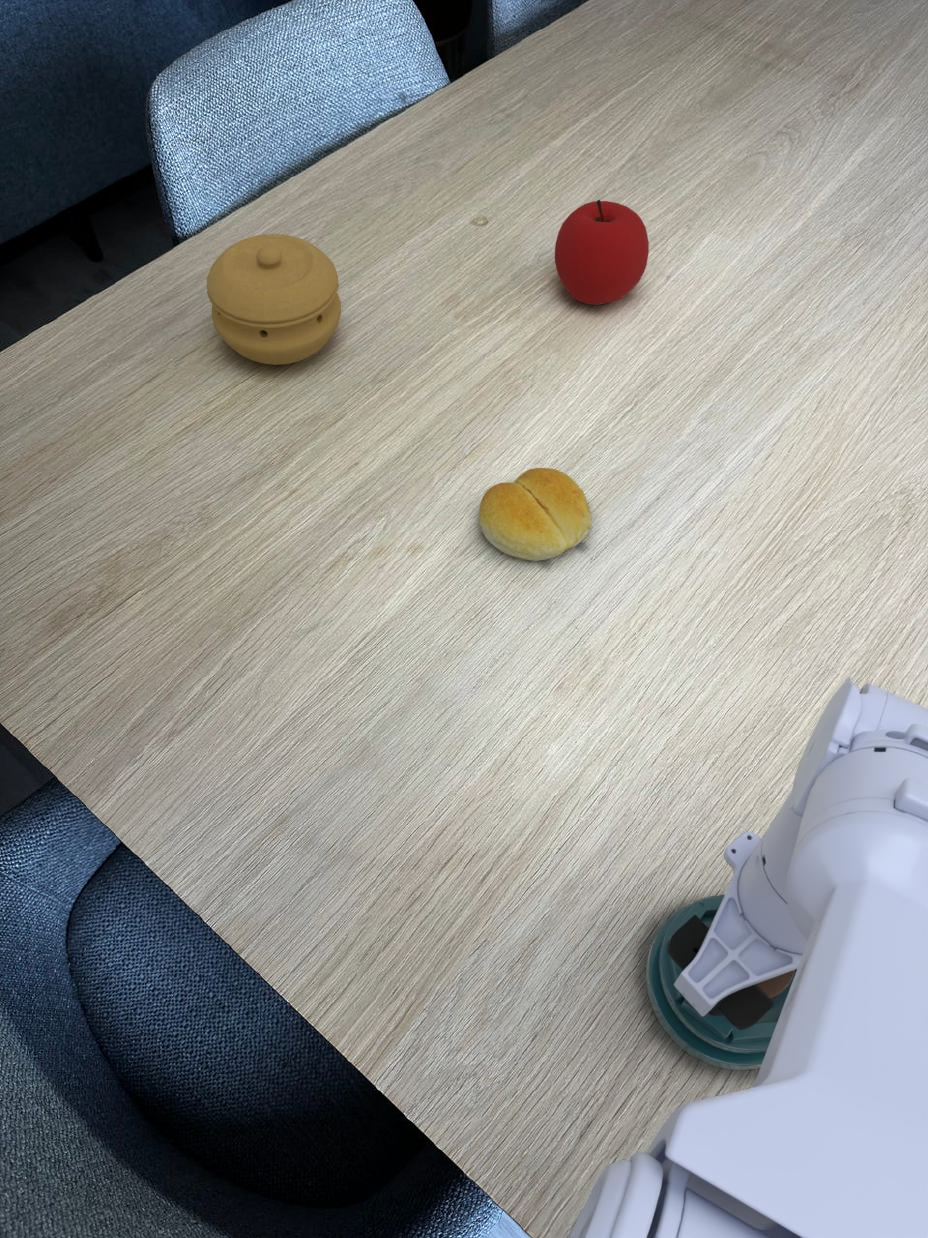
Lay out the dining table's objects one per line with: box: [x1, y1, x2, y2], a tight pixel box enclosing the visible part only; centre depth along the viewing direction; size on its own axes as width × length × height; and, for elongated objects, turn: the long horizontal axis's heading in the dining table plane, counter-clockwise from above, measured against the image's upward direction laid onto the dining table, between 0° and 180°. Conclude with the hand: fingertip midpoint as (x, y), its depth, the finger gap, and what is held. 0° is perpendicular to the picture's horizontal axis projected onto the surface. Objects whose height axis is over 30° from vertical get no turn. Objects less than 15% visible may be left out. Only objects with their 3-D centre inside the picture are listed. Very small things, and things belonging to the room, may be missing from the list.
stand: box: [645, 894, 797, 1071], centre depth 62 cm, size 10×10×4 cm
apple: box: [554, 199, 650, 305], centre depth 99 cm, size 9×9×10 cm
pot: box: [206, 233, 342, 366], centre depth 94 cm, size 12×12×10 cm
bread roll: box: [478, 467, 593, 562], centre depth 84 cm, size 8×9×4 cm
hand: (749, 955), depth 59 cm, fingers open, 7 cm apart
